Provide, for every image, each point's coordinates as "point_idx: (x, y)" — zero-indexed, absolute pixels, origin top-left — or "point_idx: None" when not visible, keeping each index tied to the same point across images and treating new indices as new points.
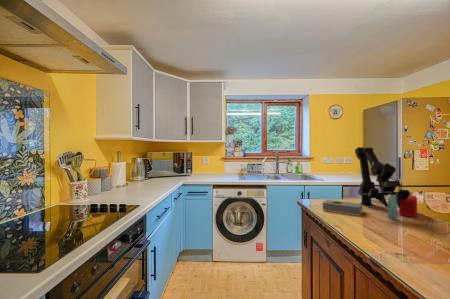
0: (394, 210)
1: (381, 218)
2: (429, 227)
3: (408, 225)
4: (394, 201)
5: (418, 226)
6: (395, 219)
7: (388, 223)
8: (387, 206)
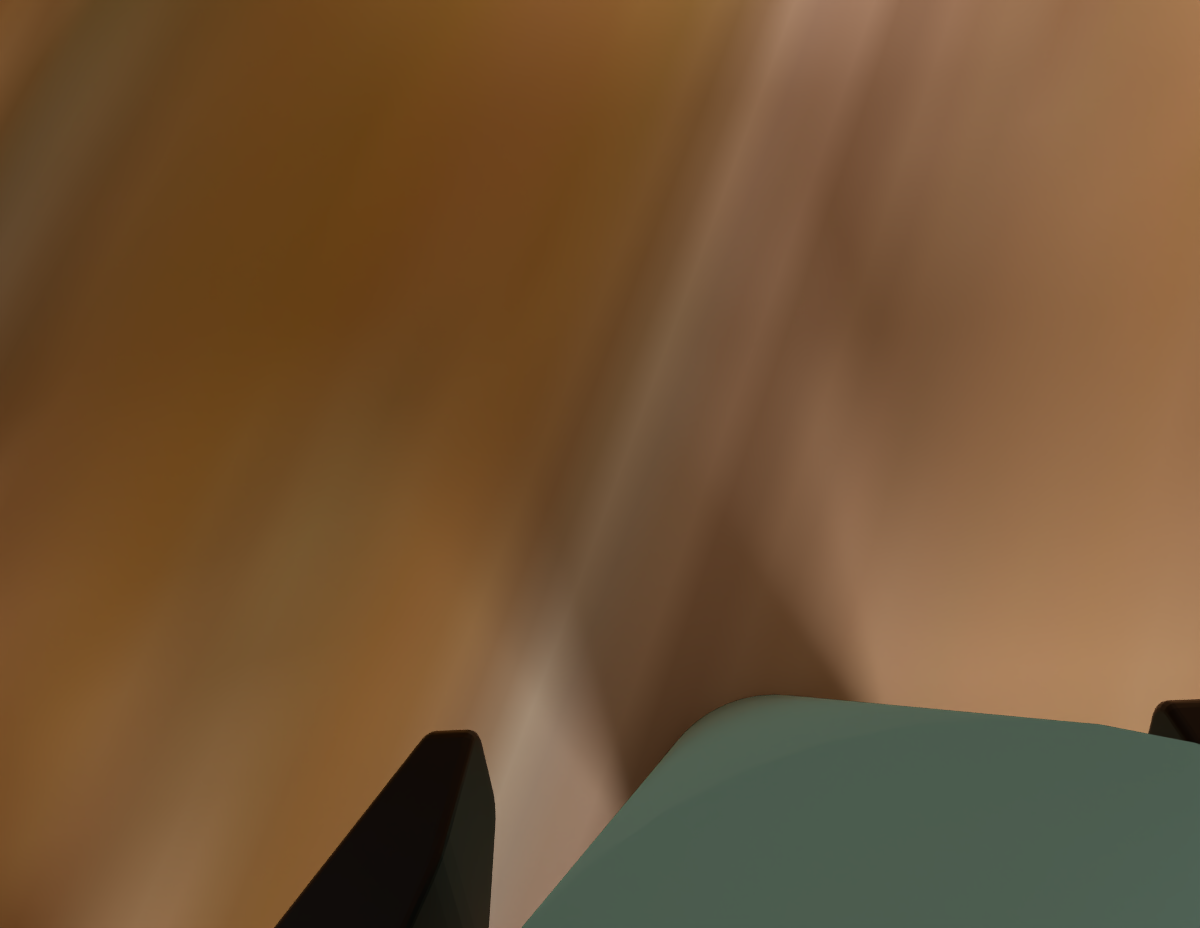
0: (756, 701)
1: None
2: (63, 117)
3: (548, 140)
4: (774, 718)
5: (309, 124)
6: (709, 713)
7: (1093, 178)
8: (1186, 705)
